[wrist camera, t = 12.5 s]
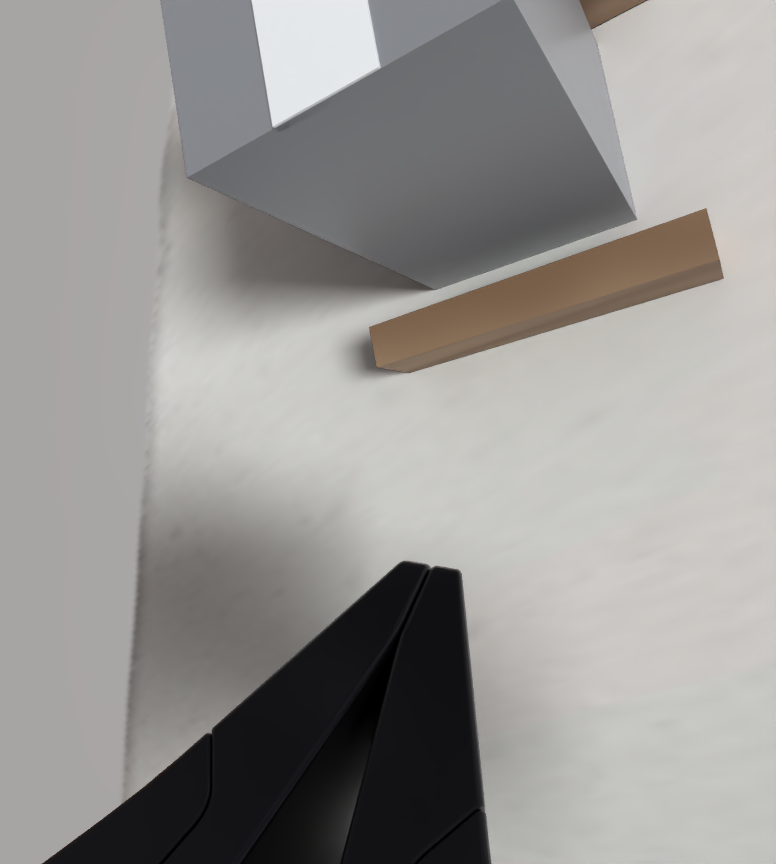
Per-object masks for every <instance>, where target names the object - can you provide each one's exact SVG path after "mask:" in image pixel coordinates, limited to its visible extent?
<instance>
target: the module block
mask: <svg viewBox="0 0 776 864" xmlns="http://www.w3.org/2000/svg"><path fill="white" fill-rule="evenodd" d="M160 1H161V8H162V15H163V21H164V28H165V35H166V42H167V48H168V55H169V62H170V68H171V75H172V82H173V88H174V95H175V102H176V108H177V115H178V122H179V128H180V135H181V142H182V148H183V155H184V162H185V168H186V175H187V178H189V179H191V180H193V181H196V182H198V183H200V184H202V185H204V186H207V187H209V188H211V189H213V190H215V191H218V192H220V193H222V194H224V195H226V196H229V197H231V198H233V199H235V200H238V201H240V202H242V203H244V204H246V205H249V206H251V207H253V208H255V209H257V210H260V211H262V212H264V213H266V214H269V215H271V216H273V217H275V218H277V219H280V220H282V221H284V222H286V223H288V224H291V225H293V226H295V227H297V228H300V229H302V230H304V231H306V232H308V233H311V234H313V235H315V236H317V237H319V238H322V239H324V240H326V241H328V242H331V243H333V244H335V245H337V246H339V247H342V248H344V249H346V250H348V251H350V252H353V253H355V254H357V255H359V256H362V257H364V258H366V259H368V260H370V261H373V262H375V263H377V264H379V265H381V266H384V267H386V268H388V269H390V270H393V271H395V272H397V273H399V274H401V275H404V276H406V277H408V278H410V279H412V280H415V281H417V282H419V283H421V284H424V285H426V286H428V287H430V288H432V289H435V290H437V289H439V288H442V287H445V286H448V285H451V284H454V283H457V282H459V281H462V280H465V279H468V278H471V277H474V276H477V275H480V274H482V273H485V272H488V271H491V270H494V269H497V268H500V267H502V266H505V265H508V264H511V263H514V262H517V261H520V260H522V259H525V258H528V257H531V256H534V255H537V254H540V253H542V252H545V251H548V250H551V249H554V248H557V247H560V246H563V245H565V244H568V243H571V242H574V241H577V240H580V239H583V238H585V237H588V236H591V235H594V234H597V233H600V232H603V231H605V230H608V229H611V228H614V227H617V226H620V225H623V224H626V223H628V222H631V221H634V220H637V217H636V212H635V208H634V203H633V199H632V194H631V190H630V186H629V181H628V177H627V172H626V168H625V164H624V159H623V155H622V150H621V146H620V141H619V137H618V133H617V128H616V124H615V119H614V115H613V111H612V106H611V102H610V97H609V93H608V88H607V84H606V80H605V75H604V71H603V66H602V62H601V58H600V53H599V49H598V45H597V42H596V40H595V38H594V35H593V33H592V30H591V28H590V25H589V23H588V21H587V18H586V16H585V13H584V11H583V8H582V6H581V4H580V1H579V0H160Z"/></svg>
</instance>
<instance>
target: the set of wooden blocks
mask: <svg viewBox="0 0 776 864" xmlns="http://www.w3.org/2000/svg"><path fill="white" fill-rule="evenodd" d="M579 1H580V4H581V6H582V8H583V11H584V13H585V16H586V18H587V21H588V23H589V25H590V28H591V29H592V28H594V27H596V26H598V25H600V24H601V23H603V22H605V21H607V20H609V19H611V18H613V17H615V16H617V15H619V14H621V13H623V12H625V11H627V10H628V9H630V8H632V7H634V6H636V5H638V4H640V3H642V2H644V1H646V0H579ZM723 278H724V277H723V273H722V269H721V264H720V260H719V256H718V252H717V248H716V244H715V240H714V236H713V232H712V228H711V224H710V220H709V217H708V213H707V209H703V210H700V211H697V212H694V213H691V214H689V215H686V216H683V217H680V218H677V219H674V220H672V221H669V222H666V223H663V224H660V225H657V226H655V227H652V228H649V229H646V230H643V231H640V232H638V233H635V234H632V235H629V236H626V237H623V238H620V239H618V240H615V241H612V242H609V243H606V244H603V245H601V246H598V247H595V248H592V249H589V250H586V251H584V252H581V253H578V254H575V255H572V256H569V257H567V258H564V259H561V260H558V261H555V262H552V263H550V264H547V265H544V266H541V267H538V268H535V269H533V270H530V271H527V272H524V273H521V274H518V275H516V276H513V277H510V278H507V279H504V280H501V281H499V282H496V283H493V284H490V285H487V286H484V287H482V288H479V289H476V290H473V291H470V292H467V293H465V294H462V295H459V296H456V297H453V298H450V299H448V300H445V301H442V302H439V303H436V304H433V305H431V306H428V307H425V308H422V309H419V310H416V311H414V312H411V313H408V314H405V315H402V316H399V317H397V318H394V319H391V320H388V321H385V322H382V323H380V324H377V325H374V326H371V327H369V329H370V335H371V340H372V345H373V350H374V356H375V361H376V366H377V367H379V368H384V369H390V370H396V371H401V372H407V373H411V372H414V371H417V370H421V369H424V368H427V367H431V366H434V365H437V364H441V363H444V362H447V361H451V360H454V359H457V358H461V357H464V356H467V355H471V354H474V353H477V352H481V351H484V350H487V349H491V348H494V347H497V346H501V345H504V344H507V343H510V342H514V341H517V340H520V339H524V338H527V337H530V336H534V335H537V334H540V333H544V332H547V331H550V330H554V329H557V328H560V327H564V326H567V325H570V324H574V323H577V322H580V321H584V320H587V319H590V318H594V317H597V316H600V315H604V314H607V313H610V312H614V311H617V310H620V309H624V308H627V307H630V306H634V305H637V304H640V303H644V302H647V301H650V300H653V299H657V298H660V297H663V296H667V295H670V294H673V293H677V292H680V291H683V290H687V289H690V288H693V287H697V286H700V285H703V284H707V283H710V282H713V281H717V280H720V279H723Z"/></svg>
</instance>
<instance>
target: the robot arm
mask: <svg viewBox="0 0 776 864" xmlns="http://www.w3.org/2000/svg"><path fill="white" fill-rule="evenodd" d="M42 864H491V856H490V849H489V839H488V829H487V819H486V813H485V802H484V792H483V782H482V772H481V762H480V752H479V742H478V732H477V722H476V712H475V702H474V692H473V682H472V672H471V662H470V651H469V641H468V631H467V621H466V611H465V601H464V591H463V581H462V574H461V572H460V571H459V570H458V569H453V568H447V567H441V566H434V567H432V568H431V567H430V566H429V565H427V564H423V563H417V562H411V561H402V562H400V563H399V564H397V565H396V566H395V567H394V568H393V569H392V570H391V571H390V572H388V573H387V574H386V575H385V576H384V577H383V578H382V579H380V580H379V581H378V582H377V583H376V584H375V585H374V586H373V587H371V588H370V589H369V590H368V591H367V592H366V593H365V594H364V595H362V596H361V597H360V598H359V599H358V600H357V601H356V602H355V603H353V604H352V605H351V606H350V607H349V608H348V609H347V610H345V611H344V612H343V613H342V614H341V615H340V616H339V617H338V618H336V619H335V620H334V621H333V622H332V623H331V624H330V625H329V626H327V627H326V628H325V629H324V630H323V631H322V632H321V633H320V634H318V635H317V636H316V637H315V638H314V639H313V640H312V641H311V642H309V643H308V644H307V645H306V646H305V647H304V648H303V649H301V650H300V651H299V652H298V653H297V654H296V655H295V656H294V657H292V658H291V659H290V660H289V661H288V662H287V663H286V664H285V665H283V666H282V667H281V668H280V669H279V670H278V671H277V672H276V673H274V674H273V675H272V676H271V677H270V678H269V679H268V680H266V681H265V682H264V683H263V684H262V685H261V686H260V687H259V688H257V689H256V690H255V691H254V692H253V693H252V694H251V695H250V696H248V697H247V698H246V699H245V700H244V701H243V702H242V703H241V704H239V705H238V706H237V707H236V708H235V709H234V710H233V711H231V712H230V713H229V714H228V715H227V716H226V717H225V718H224V719H222V720H221V721H220V722H219V723H218V724H217V725H216V726H215V727H213V729H212V735H211V734H210V733H206V734H205V735H204V736H203V737H202V738H201V739H200V740H198V741H197V742H196V743H195V744H194V745H193V746H192V747H191V748H189V749H188V750H187V751H186V752H185V753H184V754H183V755H181V756H180V757H179V758H178V759H177V760H175V761H174V762H173V763H172V764H171V765H170V766H168V767H167V768H166V769H165V770H164V771H162V772H161V773H160V774H159V775H158V776H157V777H155V778H154V779H153V780H152V781H151V782H149V783H148V784H147V785H146V786H145V787H143V788H142V789H141V790H139V791H138V792H137V793H136V794H134V795H133V796H132V797H130V798H129V799H128V800H127V801H125V802H124V803H123V804H121V805H120V806H119V807H117V808H116V809H115V810H114V811H112V812H111V813H110V814H108V815H107V816H106V817H104V818H103V819H102V820H101V821H99V822H98V823H96V824H95V825H94V826H92V827H91V828H90V829H88V830H87V831H86V832H84V833H83V834H82V835H81V836H79V837H78V838H76V839H75V840H73V841H72V842H71V843H69V844H68V845H67V846H65V847H64V848H63V849H62V850H60V851H59V852H57V853H56V854H55V855H53V856H52V857H50V858H49V859H48V860H46V861H45V862H44V863H42Z"/></svg>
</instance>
